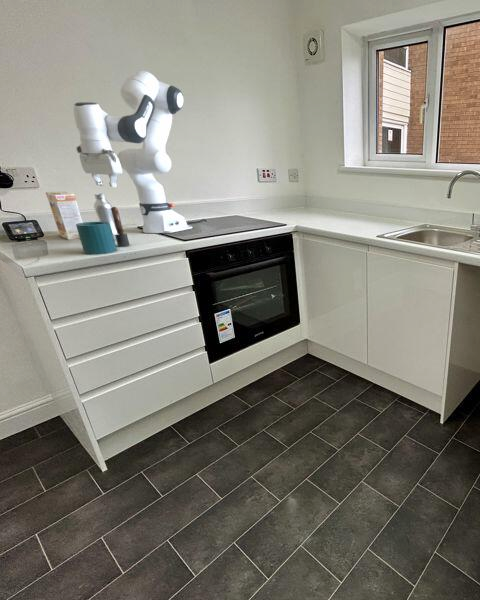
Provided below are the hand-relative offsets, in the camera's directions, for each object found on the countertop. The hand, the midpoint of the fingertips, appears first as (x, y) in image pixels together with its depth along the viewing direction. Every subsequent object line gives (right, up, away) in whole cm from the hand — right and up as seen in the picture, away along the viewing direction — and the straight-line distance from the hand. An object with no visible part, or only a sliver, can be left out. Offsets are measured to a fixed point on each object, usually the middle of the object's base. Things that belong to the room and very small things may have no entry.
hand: (106, 186), depth 140 cm
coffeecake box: (-34, -16, +22) cm, 44 cm away
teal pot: (-2, -26, -1) cm, 26 cm away
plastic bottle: (-13, -19, +18) cm, 29 cm away
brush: (0, -23, +9) cm, 24 cm away
